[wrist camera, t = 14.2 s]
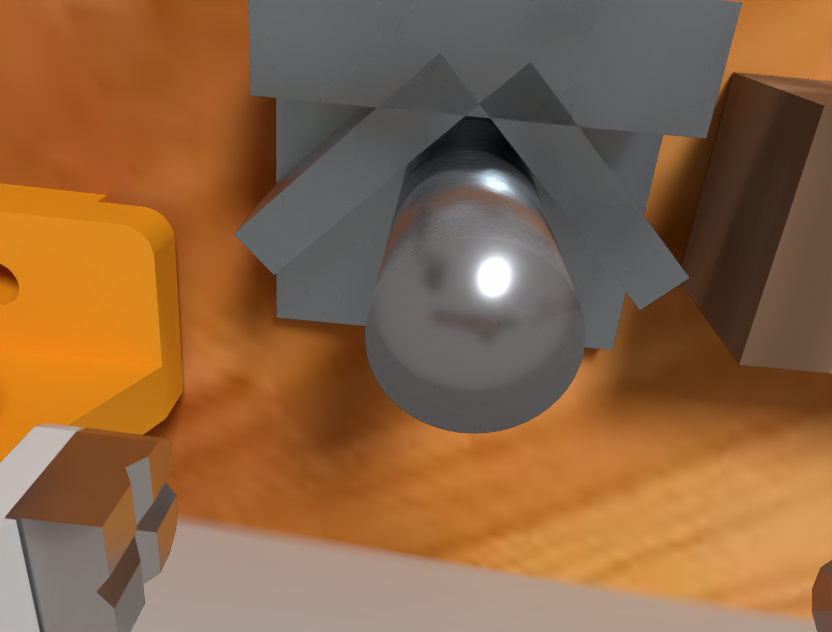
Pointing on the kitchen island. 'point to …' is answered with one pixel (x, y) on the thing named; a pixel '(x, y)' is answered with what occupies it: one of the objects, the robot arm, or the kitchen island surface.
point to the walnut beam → (768, 225)
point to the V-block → (483, 101)
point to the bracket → (85, 314)
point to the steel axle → (473, 291)
